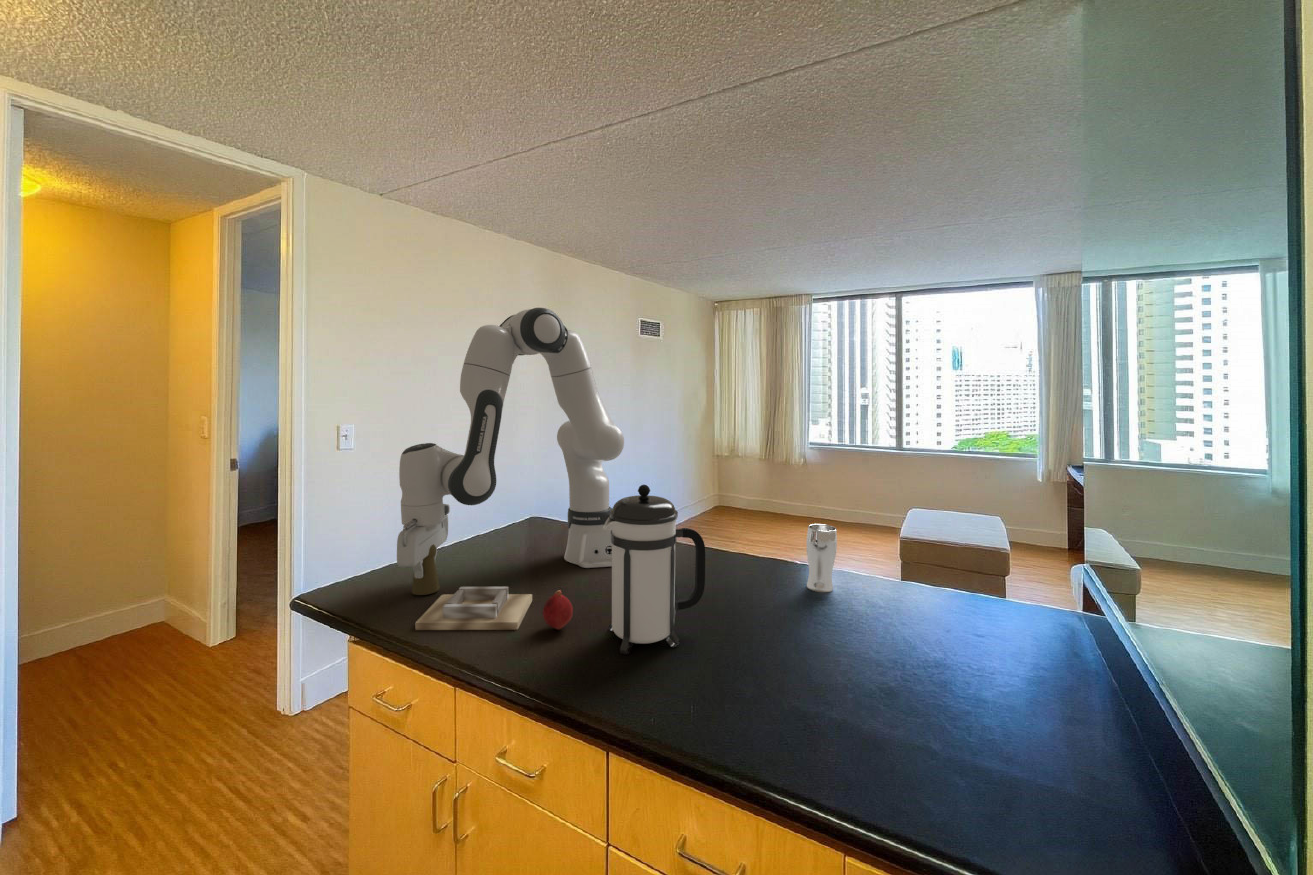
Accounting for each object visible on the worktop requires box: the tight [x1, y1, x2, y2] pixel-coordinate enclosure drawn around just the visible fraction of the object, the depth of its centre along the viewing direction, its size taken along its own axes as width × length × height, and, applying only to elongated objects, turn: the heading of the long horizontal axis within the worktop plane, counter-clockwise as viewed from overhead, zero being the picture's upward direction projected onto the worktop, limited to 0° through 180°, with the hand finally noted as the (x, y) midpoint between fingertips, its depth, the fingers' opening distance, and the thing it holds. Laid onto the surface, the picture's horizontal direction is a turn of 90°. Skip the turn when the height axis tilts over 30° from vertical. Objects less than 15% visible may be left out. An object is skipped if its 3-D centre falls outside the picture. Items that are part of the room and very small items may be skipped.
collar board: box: [414, 586, 533, 631], centre depth 109 cm, size 20×14×4 cm
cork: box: [411, 544, 441, 596], centre depth 121 cm, size 6×6×11 cm
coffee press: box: [603, 484, 706, 655], centre depth 99 cm, size 17×16×30 cm
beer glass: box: [806, 523, 838, 594], centre depth 125 cm, size 7×7×15 cm
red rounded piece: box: [542, 589, 574, 631], centre depth 103 cm, size 6×6×8 cm
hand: (425, 572), depth 121 cm, fingers closed on cork, 5 cm apart
